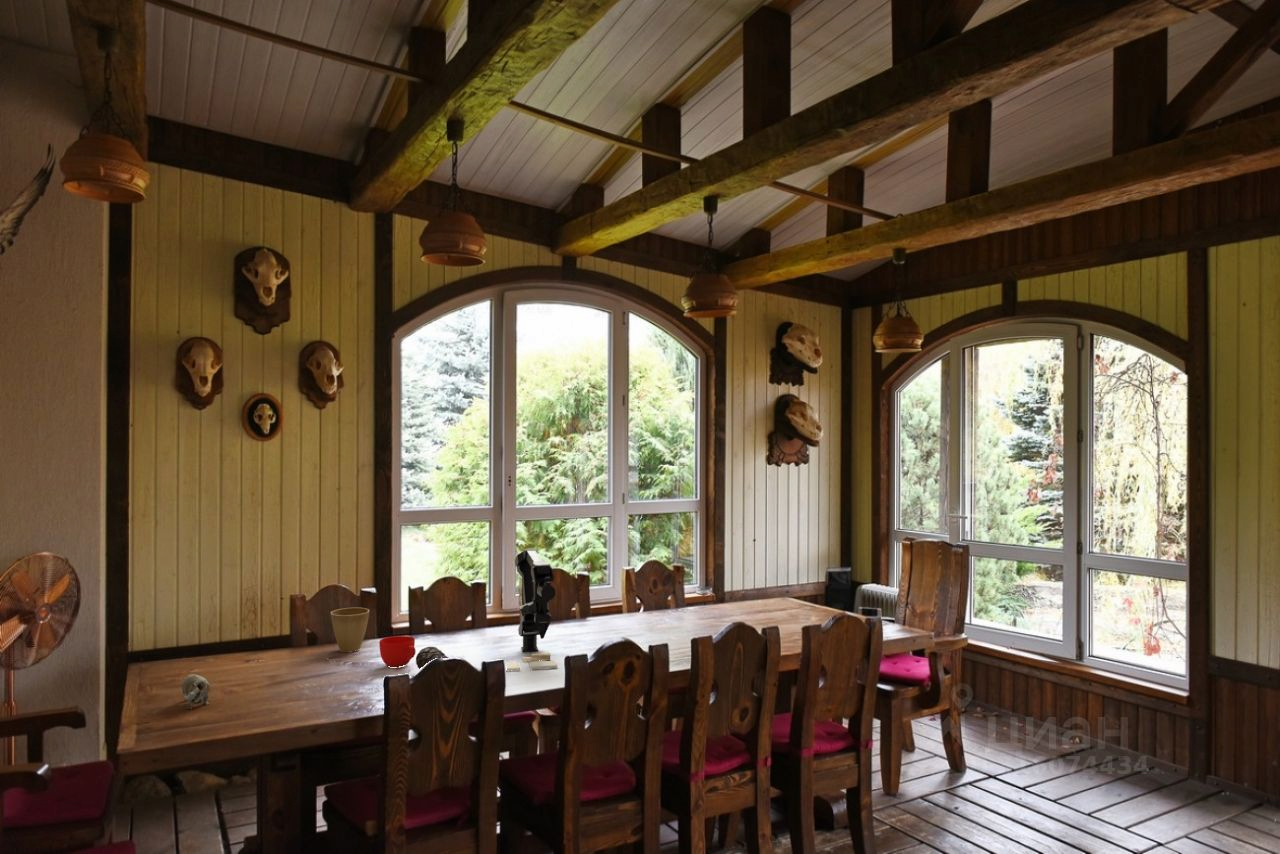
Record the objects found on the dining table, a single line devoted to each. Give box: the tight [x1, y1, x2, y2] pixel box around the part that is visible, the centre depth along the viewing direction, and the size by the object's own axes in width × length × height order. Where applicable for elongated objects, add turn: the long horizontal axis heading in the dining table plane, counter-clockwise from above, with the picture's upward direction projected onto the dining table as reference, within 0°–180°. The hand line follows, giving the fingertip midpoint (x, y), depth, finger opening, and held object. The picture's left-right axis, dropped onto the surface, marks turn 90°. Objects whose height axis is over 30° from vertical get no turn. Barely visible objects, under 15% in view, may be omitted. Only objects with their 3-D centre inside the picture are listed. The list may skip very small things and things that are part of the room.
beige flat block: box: [522, 652, 551, 663], centre depth 322 cm, size 5×10×2 cm, turn 102°
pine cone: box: [415, 646, 449, 670], centre depth 300 cm, size 10×18×10 cm, turn 47°
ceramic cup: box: [378, 635, 417, 667], centre depth 312 cm, size 13×17×10 cm
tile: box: [505, 661, 521, 672], centre depth 310 cm, size 2×7×8 cm
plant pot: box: [330, 607, 370, 653], centre depth 336 cm, size 15×15×16 cm
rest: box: [529, 660, 558, 670], centre depth 313 cm, size 7×10×1 cm
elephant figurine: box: [181, 673, 211, 709], centre depth 265 cm, size 8×14×15 cm
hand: (540, 635), depth 323 cm, fingers open, 9 cm apart
